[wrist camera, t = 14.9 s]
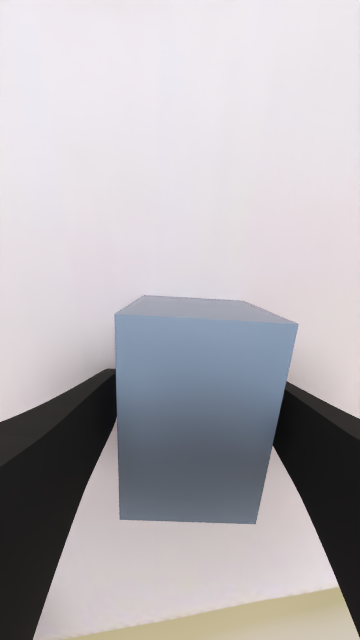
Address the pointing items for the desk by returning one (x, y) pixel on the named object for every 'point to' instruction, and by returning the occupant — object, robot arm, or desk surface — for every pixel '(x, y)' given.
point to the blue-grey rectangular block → (197, 406)
